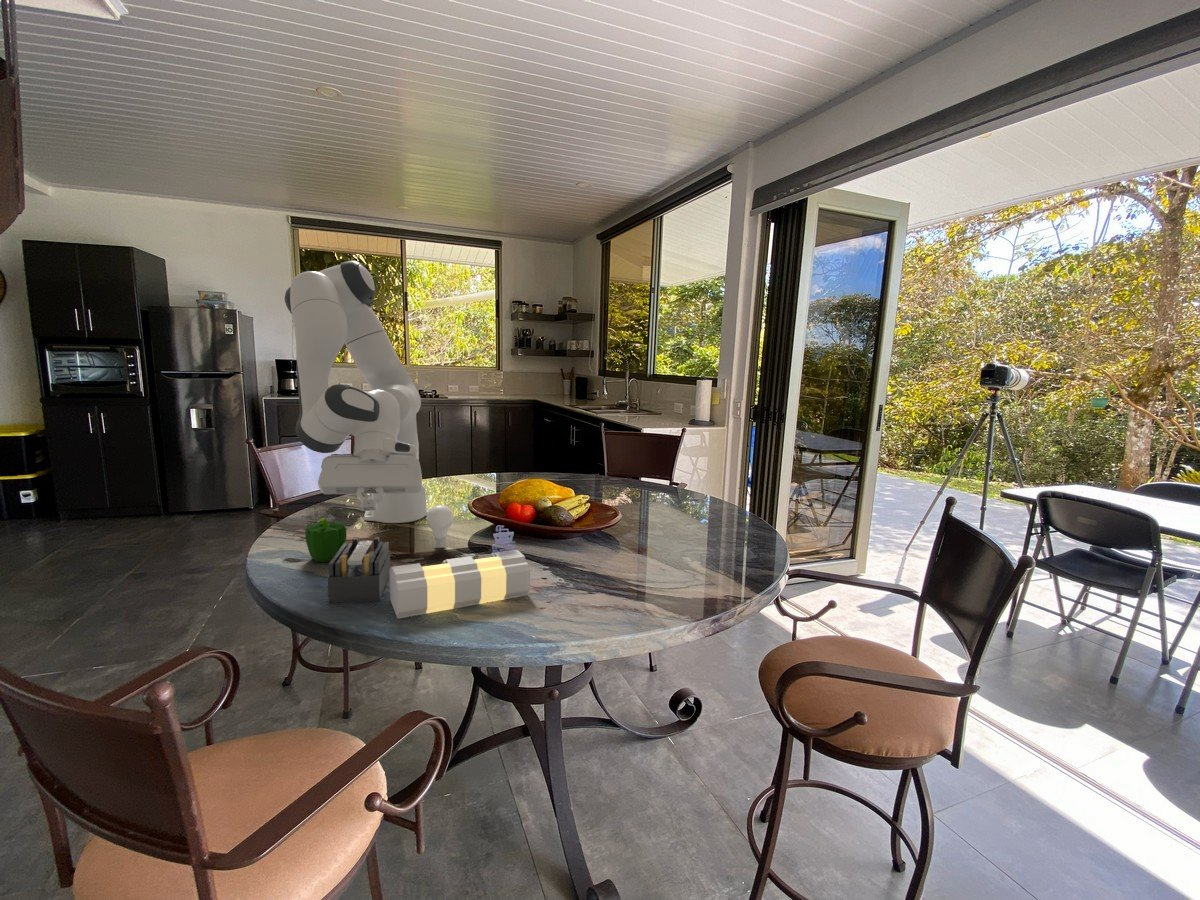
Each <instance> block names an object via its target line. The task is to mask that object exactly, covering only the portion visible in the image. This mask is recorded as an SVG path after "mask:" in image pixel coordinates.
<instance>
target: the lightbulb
mask: <svg viewBox="0 0 1200 900" xmlns="http://www.w3.org/2000/svg"><path fill="white" fill-rule="evenodd" d="M429 509H430V510H429V511H428V513H427V516H426V522H427V525H428V526H429V528H430V530H431V532H432V535H433V537H434V538H433V539H434V543H433V544H434V547H435V548H437V549H439V550H441V549H443V548H445V547H446V544H447V543H446V539H447V535H448V531H449V529H450V528H451V527H452V524H453V522H454V512H453V510H452V509H451V507H448V506H447V505H444V504H435V505H434V506H432V507H431V508H429Z"/></svg>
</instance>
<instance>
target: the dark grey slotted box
mask: <svg viewBox="0 0 1200 900" xmlns="http://www.w3.org/2000/svg"><path fill="white" fill-rule="evenodd" d="M359 538H360V537H357V536H354V537H353V538H352V541H351V542H345V543H344V544H343V545H342V547H341V548H340V549H339V551H338V552H337V553H336V555H335V556H334V557H333V559H332V560H331V561H329V562H328V576H327V603H328V602H336V603H351V602H352V603H354V602H355V601H357V602H372V601H373V602H375V601H380V600H381V598H382V596H383V593H384V590H385V588H386V585H387V583H388V582H389V570H390V568H391V552H390V545H389V544H390V543H389V542H390V541H385V542H384V541H381V540H380V539H381V537H380V536H374V537H373V552H368V554H365V556H364V561H363V563H362V564H360V565H348V563H347V561H348V559H349V558H350V556H351V554H352V553H353V551H354V550H355V548H356V547H357V545H358V543H359V542H360V539H359Z"/></svg>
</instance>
